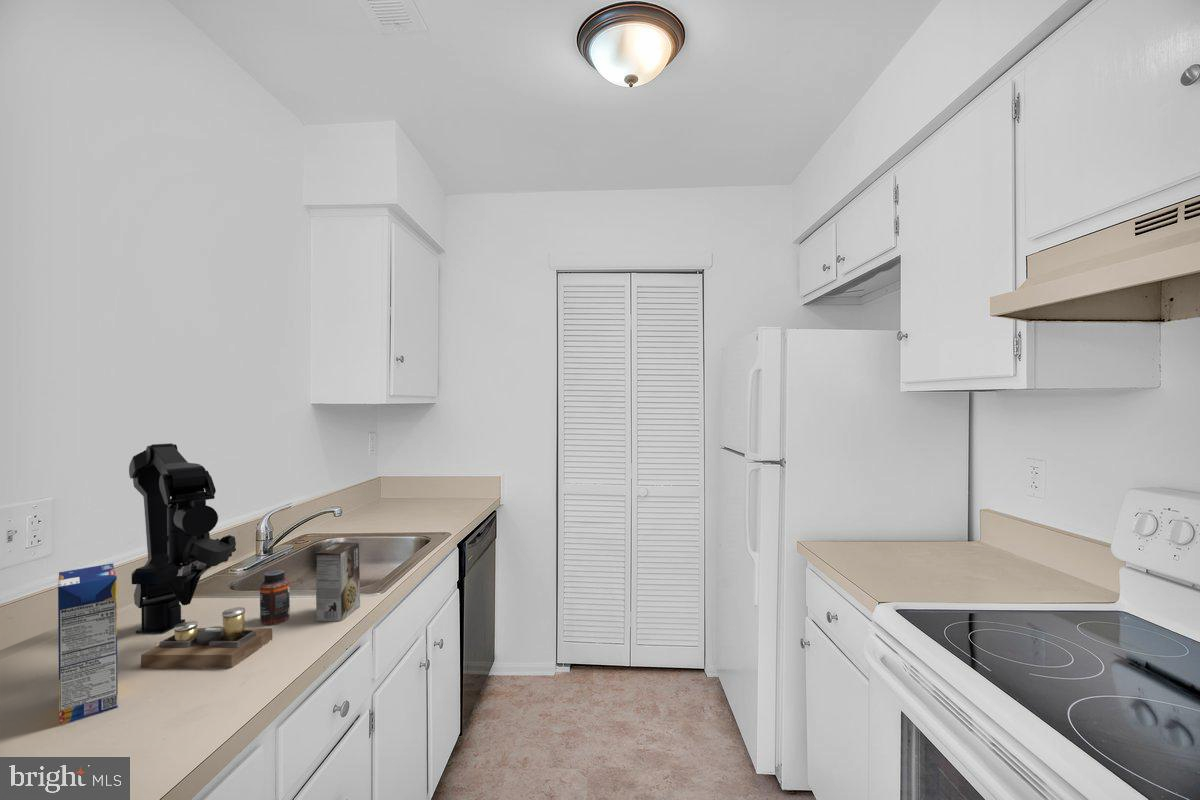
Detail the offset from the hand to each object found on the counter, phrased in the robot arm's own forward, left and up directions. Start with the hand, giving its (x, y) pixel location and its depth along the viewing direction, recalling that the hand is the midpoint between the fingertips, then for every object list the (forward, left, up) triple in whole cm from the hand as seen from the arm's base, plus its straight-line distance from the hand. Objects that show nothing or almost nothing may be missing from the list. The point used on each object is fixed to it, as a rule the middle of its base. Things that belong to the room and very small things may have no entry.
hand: (186, 604), depth 107 cm
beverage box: (-2, -18, -10) cm, 21 cm away
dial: (+5, 0, -7) cm, 9 cm away
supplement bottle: (+8, +16, -10) cm, 21 cm away
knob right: (+10, 0, -7) cm, 12 cm away
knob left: (0, 0, -10) cm, 10 cm away
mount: (+5, 0, -10) cm, 11 cm away
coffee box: (+21, +20, -10) cm, 31 cm away
